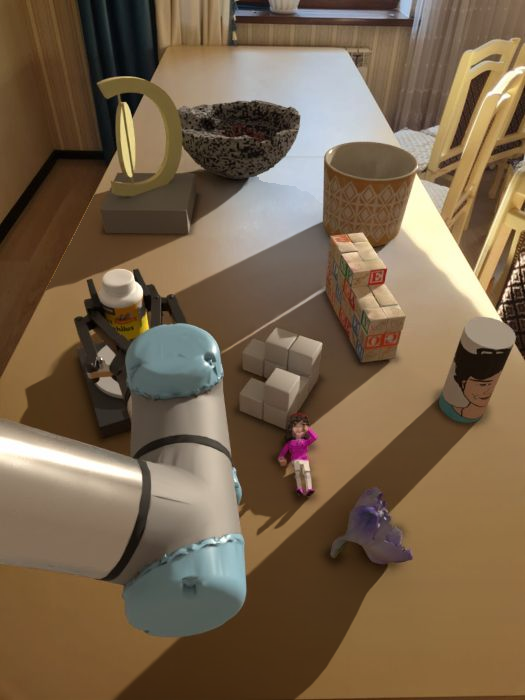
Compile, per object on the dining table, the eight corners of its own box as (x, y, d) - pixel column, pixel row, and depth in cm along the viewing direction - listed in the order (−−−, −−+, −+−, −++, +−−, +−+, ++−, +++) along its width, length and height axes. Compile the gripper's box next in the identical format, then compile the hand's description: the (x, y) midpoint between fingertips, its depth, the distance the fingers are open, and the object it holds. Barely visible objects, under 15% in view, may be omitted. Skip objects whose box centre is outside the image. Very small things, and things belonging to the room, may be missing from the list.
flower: (339, 571, 57) (405, 504, 58) (303, 526, 65) (362, 467, 66) (380, 612, 61) (441, 549, 63) (342, 565, 69) (396, 509, 70)
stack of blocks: (396, 359, 91) (410, 300, 83) (360, 364, 90) (371, 305, 82) (354, 286, 107) (362, 231, 98) (323, 289, 106) (330, 234, 97)
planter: (402, 213, 129) (416, 145, 118) (403, 257, 115) (420, 184, 103) (321, 206, 131) (328, 138, 120) (313, 247, 117) (319, 175, 106)
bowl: (320, 172, 145) (325, 114, 135) (237, 212, 128) (235, 150, 118) (238, 139, 161) (237, 86, 151) (154, 171, 144) (147, 113, 134)
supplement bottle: (102, 348, 73) (86, 286, 66) (119, 322, 77) (106, 262, 70) (140, 354, 72) (128, 293, 65) (156, 328, 76) (146, 268, 69)
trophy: (121, 194, 134) (97, 61, 114) (196, 195, 134) (186, 63, 114) (105, 232, 121) (75, 90, 100) (188, 233, 121) (175, 91, 100)
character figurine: (323, 499, 72) (312, 423, 80) (326, 481, 68) (314, 403, 76) (281, 502, 72) (273, 425, 80) (282, 484, 68) (273, 406, 76)
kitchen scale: (102, 438, 78) (98, 423, 76) (79, 359, 90) (75, 345, 88) (206, 404, 83) (205, 390, 81) (172, 334, 95) (170, 320, 93)
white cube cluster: (253, 355, 92) (253, 318, 86) (318, 379, 88) (322, 342, 82) (216, 401, 84) (214, 364, 78) (286, 430, 80) (288, 393, 74)
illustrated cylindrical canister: (453, 426, 81) (481, 352, 70) (431, 394, 85) (455, 321, 75) (492, 417, 82) (526, 344, 72) (468, 386, 87) (497, 313, 77)
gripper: (80, 445, 58) (51, 319, 74) (240, 395, 64) (181, 289, 80) (64, 398, 53) (36, 274, 69) (239, 349, 59) (176, 244, 75)
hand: (114, 282), depth 74 cm, fingers closed on supplement bottle, 6 cm apart
